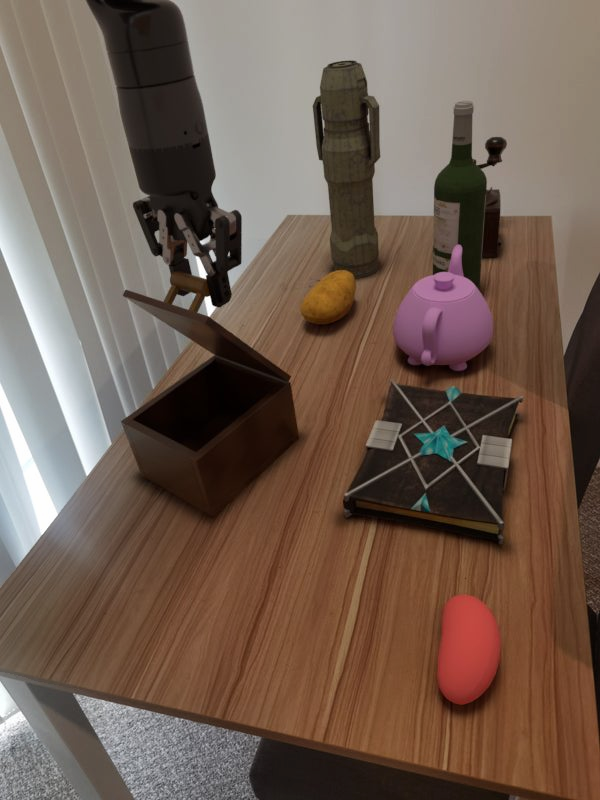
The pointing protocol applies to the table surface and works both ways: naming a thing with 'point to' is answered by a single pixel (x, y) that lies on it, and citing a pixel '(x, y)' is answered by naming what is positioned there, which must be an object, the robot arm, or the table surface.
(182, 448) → the chest
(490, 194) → the coffee grinder
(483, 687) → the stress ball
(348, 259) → the tall handled vase
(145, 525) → the table surface
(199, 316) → the lid
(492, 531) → the book
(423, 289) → the teapot
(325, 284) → the potato
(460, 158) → the wine bottle
